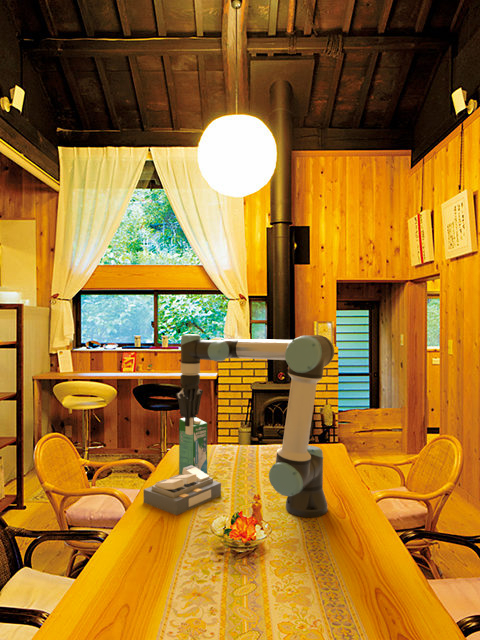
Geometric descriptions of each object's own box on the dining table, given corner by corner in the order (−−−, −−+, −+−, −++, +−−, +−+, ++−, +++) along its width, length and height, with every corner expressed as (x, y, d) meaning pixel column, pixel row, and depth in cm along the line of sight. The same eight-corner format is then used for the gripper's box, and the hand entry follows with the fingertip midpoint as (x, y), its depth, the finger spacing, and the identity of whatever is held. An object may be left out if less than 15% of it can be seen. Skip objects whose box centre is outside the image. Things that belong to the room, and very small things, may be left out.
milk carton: (193, 478, 205) (193, 421, 205) (178, 473, 210) (179, 418, 210) (207, 472, 212) (207, 417, 212) (192, 468, 217) (192, 415, 217)
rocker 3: (208, 481, 186) (209, 475, 185) (199, 485, 182) (200, 478, 181) (190, 470, 192) (192, 464, 191) (182, 473, 188) (183, 467, 187)
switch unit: (221, 495, 185) (221, 478, 185) (176, 515, 166) (177, 496, 166) (188, 485, 196) (188, 469, 196) (143, 502, 177) (143, 485, 177)
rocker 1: (184, 485, 174) (182, 478, 175) (174, 489, 170) (173, 482, 171) (166, 486, 180) (165, 479, 181) (156, 489, 176) (155, 482, 177)
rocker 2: (197, 480, 180) (196, 473, 180) (187, 484, 176) (186, 477, 176) (179, 481, 186) (178, 474, 186) (170, 484, 182) (169, 477, 182)
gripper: (194, 371, 190) (193, 429, 190) (171, 374, 180) (170, 435, 180) (208, 373, 185) (207, 432, 185) (185, 376, 175) (184, 439, 175)
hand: (189, 434), depth 183 cm, fingers closed
